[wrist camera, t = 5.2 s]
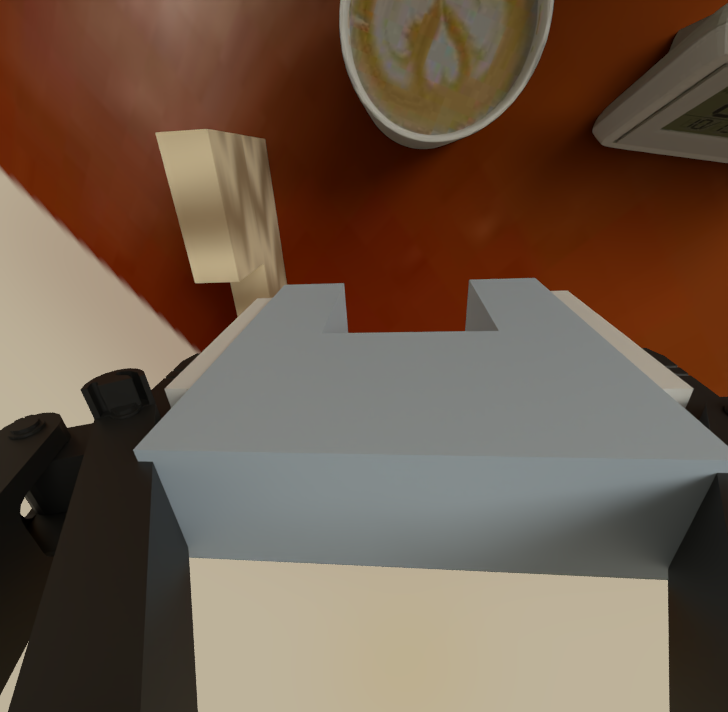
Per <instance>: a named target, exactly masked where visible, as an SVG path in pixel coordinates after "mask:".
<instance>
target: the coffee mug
mask: <svg viewBox="0 0 728 712" xmlns="http://www.w3.org/2000/svg"><path fill="white" fill-rule="evenodd" d="M553 8H554V0H340V15H339V31H340V41H341V48H342V54H343V59H344V63H345V67H346V70H347V73H348V76H349V78H350V81H351V83H352V86H353V88H354V90H355V92H356V94H357V95H358V97H359V99H360V101H361V102H362V104H363V106H364V107H365V109H366V111H367V112H368V114H369V115H370V117H371V119H372V120H373V122H374V123H375V125H376V126H377V127H378V128H379V129H380V130H381V131H382V132H383V133H384V134H385V135H386V136H387V137H389V138H390V139H391V140H393V141H395V142H396V143H399V144H401V145H403V146H406V147H410V148H415V149H430V148H436V147H440V146H443V145H446V144H449V143H451V142H454V141H457V140H459V139H462V138H465V137H468V136H470V135H472V134H474V133H476V132H478V131H479V130H481V129H483V128H484V127H486V126H487V125H489V124H490V123H492V122H493V121H494V120H495V119H497V118H498V117H499V116H500V115H501V114H502V113H503V112H504V111H505V110H506V109H507V108H508V107H509V106H510V105H511V104H512V103H513V102H514V101H515V99H516V98H517V97H518V95H519V94H520V93H521V92H522V90H523V89H524V87H525V86H526V84H527V82H528V81H529V79H530V77H531V76H532V74H533V72H534V70H535V68H536V66H537V64H538V62H539V60H540V57H541V55H542V52H543V49H544V46H545V44H546V41H547V37H548V33H549V29H550V24H551V19H552V14H553Z"/></svg>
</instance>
